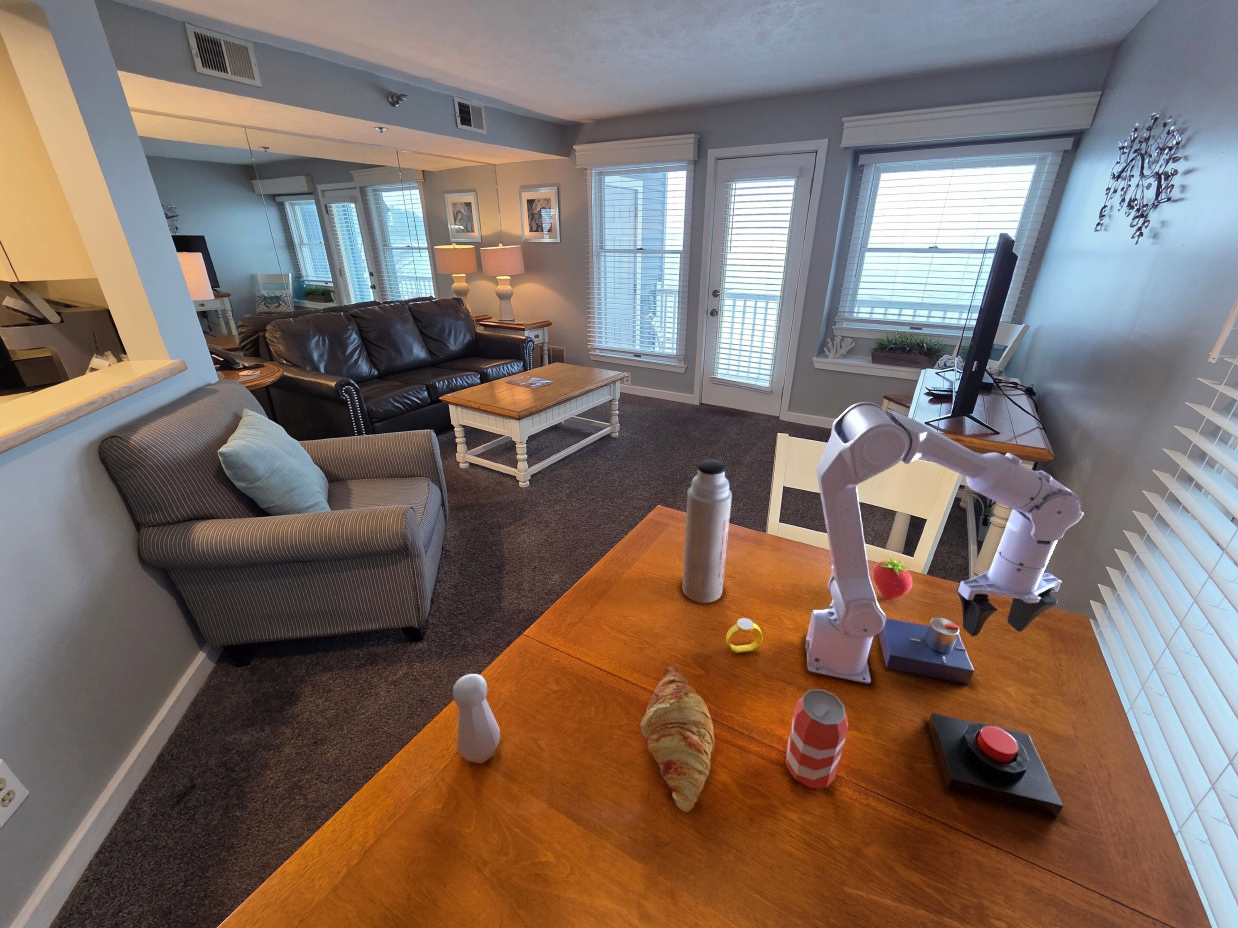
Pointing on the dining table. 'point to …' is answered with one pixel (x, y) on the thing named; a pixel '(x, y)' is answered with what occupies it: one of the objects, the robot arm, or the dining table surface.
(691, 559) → the thermos bottle
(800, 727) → the beverage can
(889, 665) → the dial panel
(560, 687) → the dining table surface
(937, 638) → the dial knob
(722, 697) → the dining table surface
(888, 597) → the strawberry
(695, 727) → the croissant
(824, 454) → the robot arm
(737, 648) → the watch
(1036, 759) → the button box
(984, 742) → the button
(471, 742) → the salt shaker
